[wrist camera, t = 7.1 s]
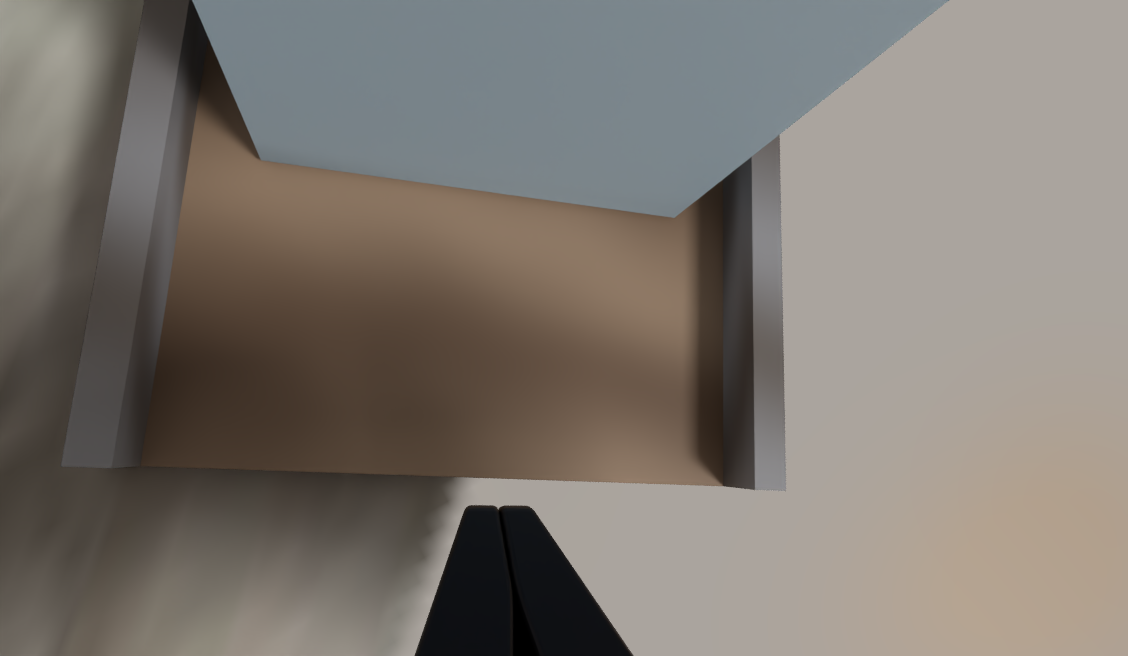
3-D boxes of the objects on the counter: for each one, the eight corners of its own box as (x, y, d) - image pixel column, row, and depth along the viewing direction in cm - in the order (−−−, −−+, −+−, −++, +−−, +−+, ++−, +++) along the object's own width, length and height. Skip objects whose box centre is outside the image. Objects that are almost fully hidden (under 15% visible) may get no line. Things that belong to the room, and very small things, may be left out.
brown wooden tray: (739, 484, 18) (867, 499, 13) (103, 463, 14) (-37, 471, 9) (736, -82, 21) (837, -236, 16) (218, -218, 18) (156, -467, 13)
